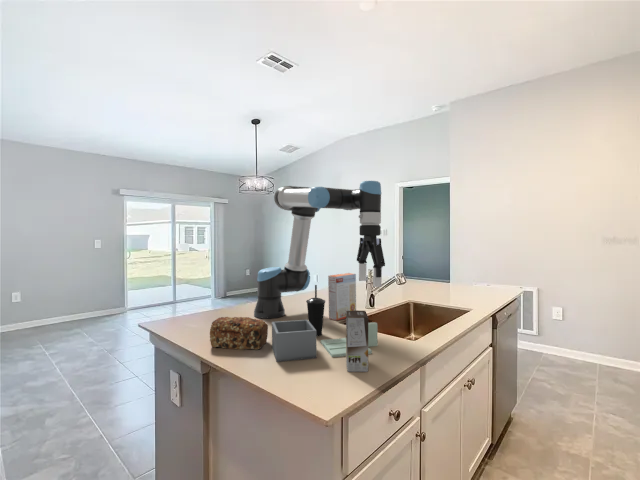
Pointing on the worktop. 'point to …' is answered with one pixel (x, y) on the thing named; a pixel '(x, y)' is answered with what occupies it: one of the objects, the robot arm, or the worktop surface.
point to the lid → (339, 345)
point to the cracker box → (341, 295)
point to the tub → (293, 340)
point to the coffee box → (357, 341)
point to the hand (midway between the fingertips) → (369, 283)
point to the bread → (238, 333)
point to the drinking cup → (316, 312)
